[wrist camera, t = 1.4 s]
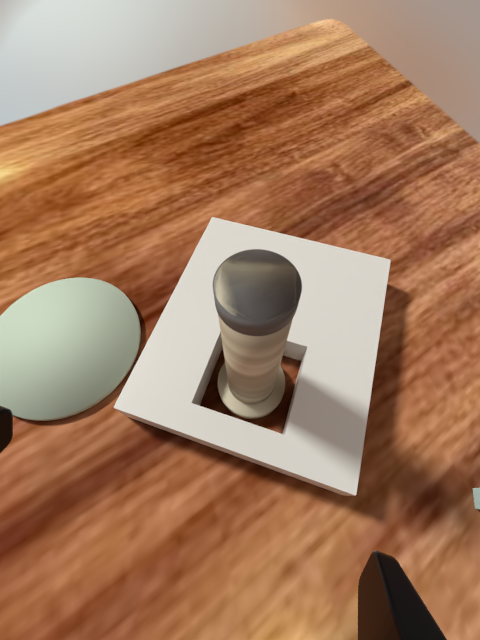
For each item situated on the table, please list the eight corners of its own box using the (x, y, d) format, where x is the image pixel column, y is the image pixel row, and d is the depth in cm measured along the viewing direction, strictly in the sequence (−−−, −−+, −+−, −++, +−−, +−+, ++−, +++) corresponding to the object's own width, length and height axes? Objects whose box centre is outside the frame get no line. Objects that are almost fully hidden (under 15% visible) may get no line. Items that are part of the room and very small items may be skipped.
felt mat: (34, 459, 20) (30, 458, 19) (-43, 346, 23) (-48, 343, 23) (171, 340, 23) (170, 337, 23) (86, 259, 27) (84, 255, 27)
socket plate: (343, 495, 19) (356, 495, 16) (127, 416, 21) (113, 407, 19) (378, 279, 26) (390, 259, 23) (214, 238, 28) (212, 217, 26)
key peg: (273, 428, 20) (304, 358, 10) (209, 406, 21) (173, 319, 11) (290, 366, 22) (332, 252, 12) (231, 347, 23) (219, 224, 12)
